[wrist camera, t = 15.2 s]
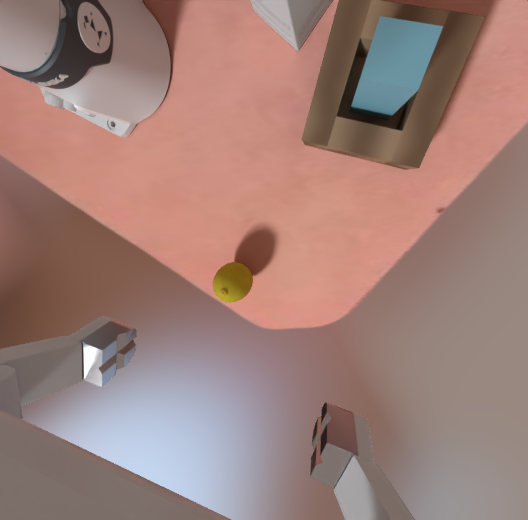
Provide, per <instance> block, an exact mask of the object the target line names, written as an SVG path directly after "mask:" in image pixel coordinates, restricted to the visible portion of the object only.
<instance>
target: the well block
mask: <svg viewBox="0 0 528 520" xmlns="http://www.w3.org/2000/svg"><path fill="white" fill-rule="evenodd" d="M380 16H383V17H389V18H395V19H401V20H407V21H413V22H420V23H426V24H432V25H438V26H443V28H442V31H441V34H440V36H439V39H438V41H437V44H436V46H435V49H434V51H433V54H432V56H431V59H430V62H429V64H428V67H427V69H426V72H425V74H424V77H423V79H422V82H421V84H420V87H419V90H418V91H417V92H416V93H415V94H414V95H413V96H412V97H411V98H410V99H409V100H408V101H407V102H406V103H405V104H404V105H402V106H401V107H400V108H399V109H398V110H397V111H396V112H395V113H394V114H393V115H392V116H391V117H390V118H389V119H388V120H383V119H379V118H374V117H370V116H365V115H360V114H356V113H351V112H349V111H350V108H351V105H352V102H353V99H354V96H355V93H356V89H357V86H358V83H359V80H360V77H361V74H362V71H363V67H364V64H365V61H366V58H367V55H368V52H369V49H370V46H371V43H372V40H373V36H374V33H375V30H376V27H377V24H378V21H379V18H380ZM484 18H485V16H478V15H472V14H465V13H459V12H452V11H446V10H439V9H433V8H426V7H420V6H413V5H407V4H400V3H394V2H387V1H381V0H339V2H338V6H337V10H336V13H335V17H334V21H333V24H332V28H331V32H330V36H329V39H328V43H327V47H326V51H325V54H324V58H323V62H322V66H321V69H320V73H319V77H318V80H317V84H316V88H315V92H314V95H313V99H312V103H311V107H310V110H309V114H308V118H307V122H306V125H305V129H304V133H303V136H302V141H303V142H304V144H305V145H307V146H311V147H315V148H319V149H323V150H328V151H332V152H336V153H340V154H344V155H348V156H352V157H356V158H360V159H365V160H369V161H373V162H377V163H381V164H385V165H389V166H393V167H397V168H401V169H415V168H419V167H420V165H421V163H422V160H423V158H424V156H425V153H426V151H427V149H428V147H429V144H430V142H431V140H432V137H433V135H434V133H435V130H436V128H437V126H438V124H439V121H440V119H441V117H442V114H443V112H444V110H445V107H446V105H447V103H448V101H449V98H450V96H451V94H452V91H453V89H454V87H455V84H456V82H457V80H458V78H459V75H460V73H461V71H462V68H463V66H464V64H465V61H466V59H467V57H468V55H469V52H470V50H471V48H472V45H473V43H474V41H475V39H476V36H477V34H478V32H479V29H480V27H481V25H482V22H483V20H484Z"/></svg>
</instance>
